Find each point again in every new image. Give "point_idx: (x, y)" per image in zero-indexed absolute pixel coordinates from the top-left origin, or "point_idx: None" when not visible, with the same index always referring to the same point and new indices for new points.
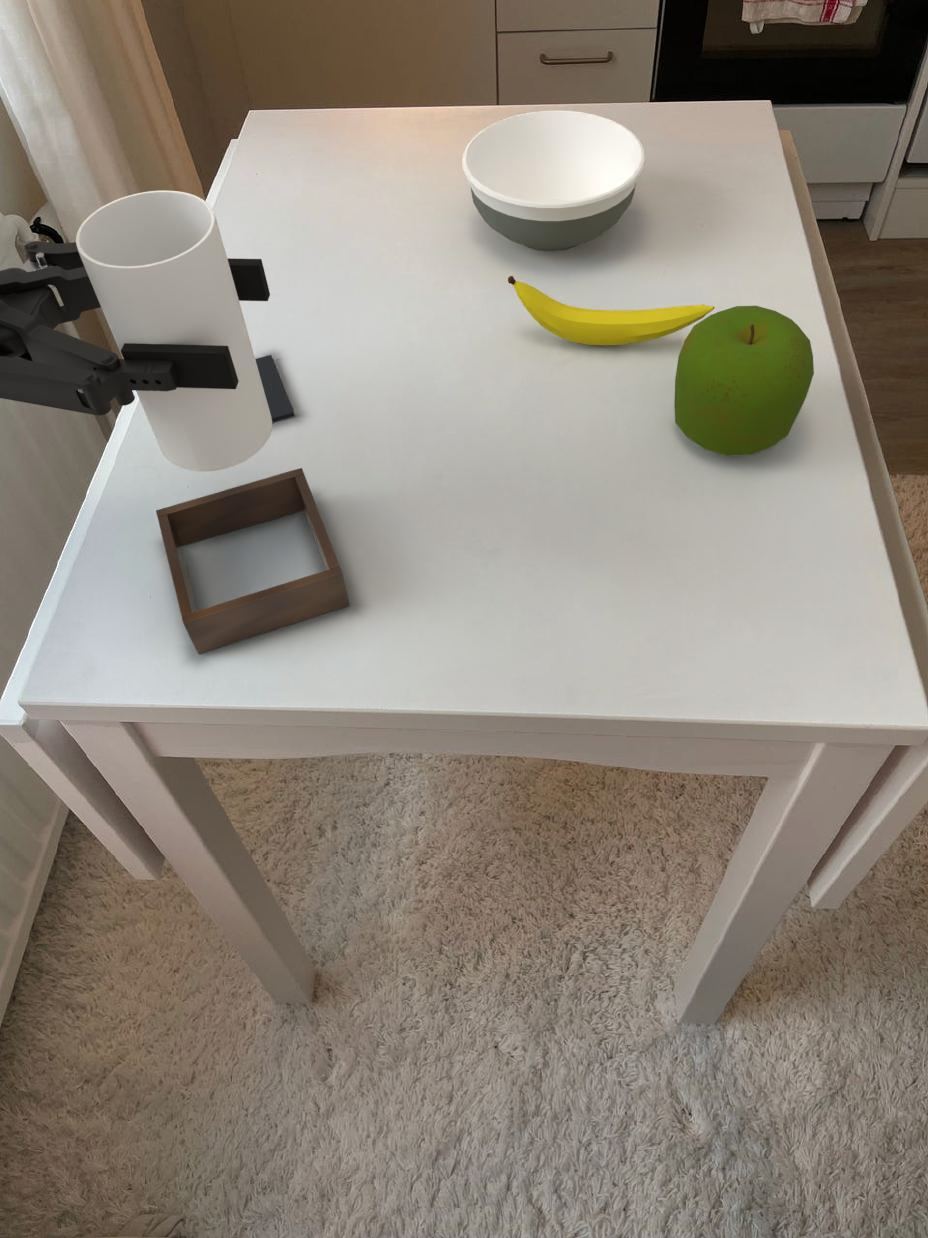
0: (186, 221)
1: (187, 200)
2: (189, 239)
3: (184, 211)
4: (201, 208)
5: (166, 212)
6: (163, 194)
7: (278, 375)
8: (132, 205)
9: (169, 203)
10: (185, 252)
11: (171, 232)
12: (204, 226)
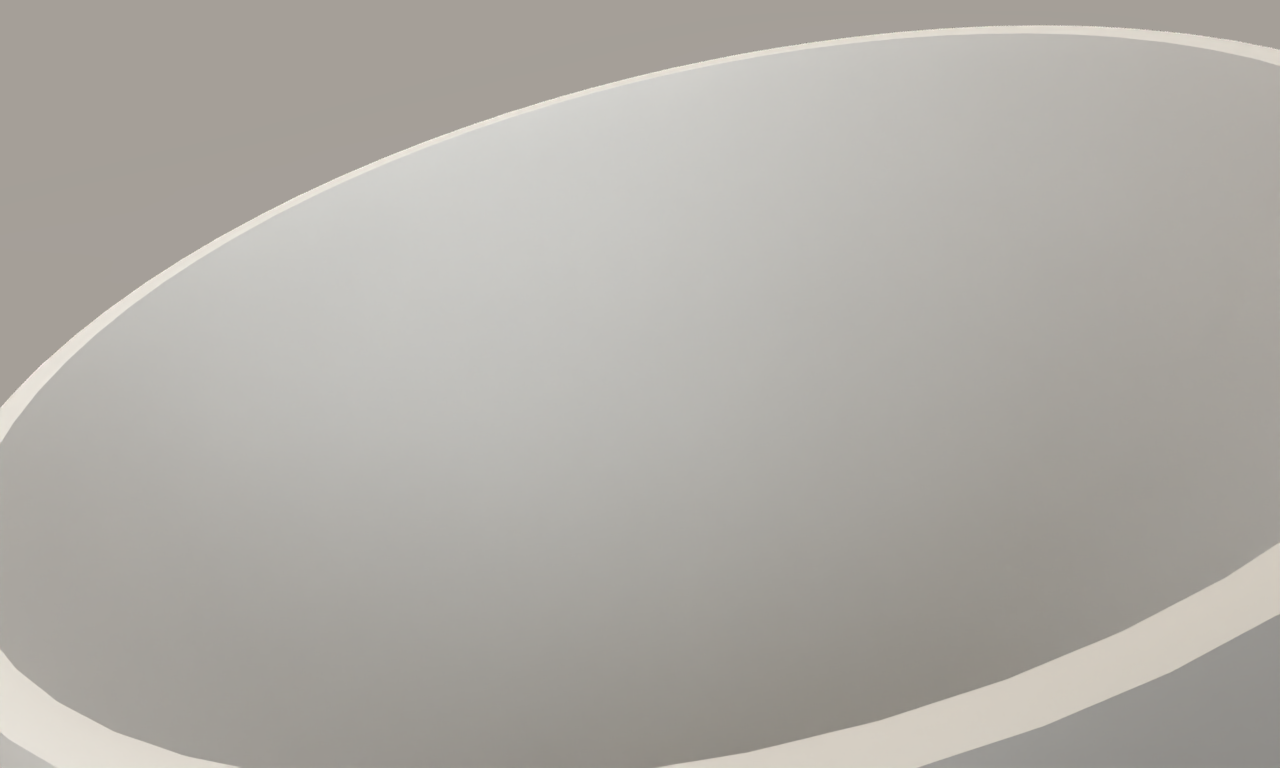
0: (228, 534)
1: (183, 329)
2: (277, 680)
3: (190, 461)
4: (306, 267)
5: (126, 587)
6: (40, 427)
7: None
8: (39, 670)
9: (103, 480)
10: (933, 29)
11: (208, 747)
12: (334, 423)
